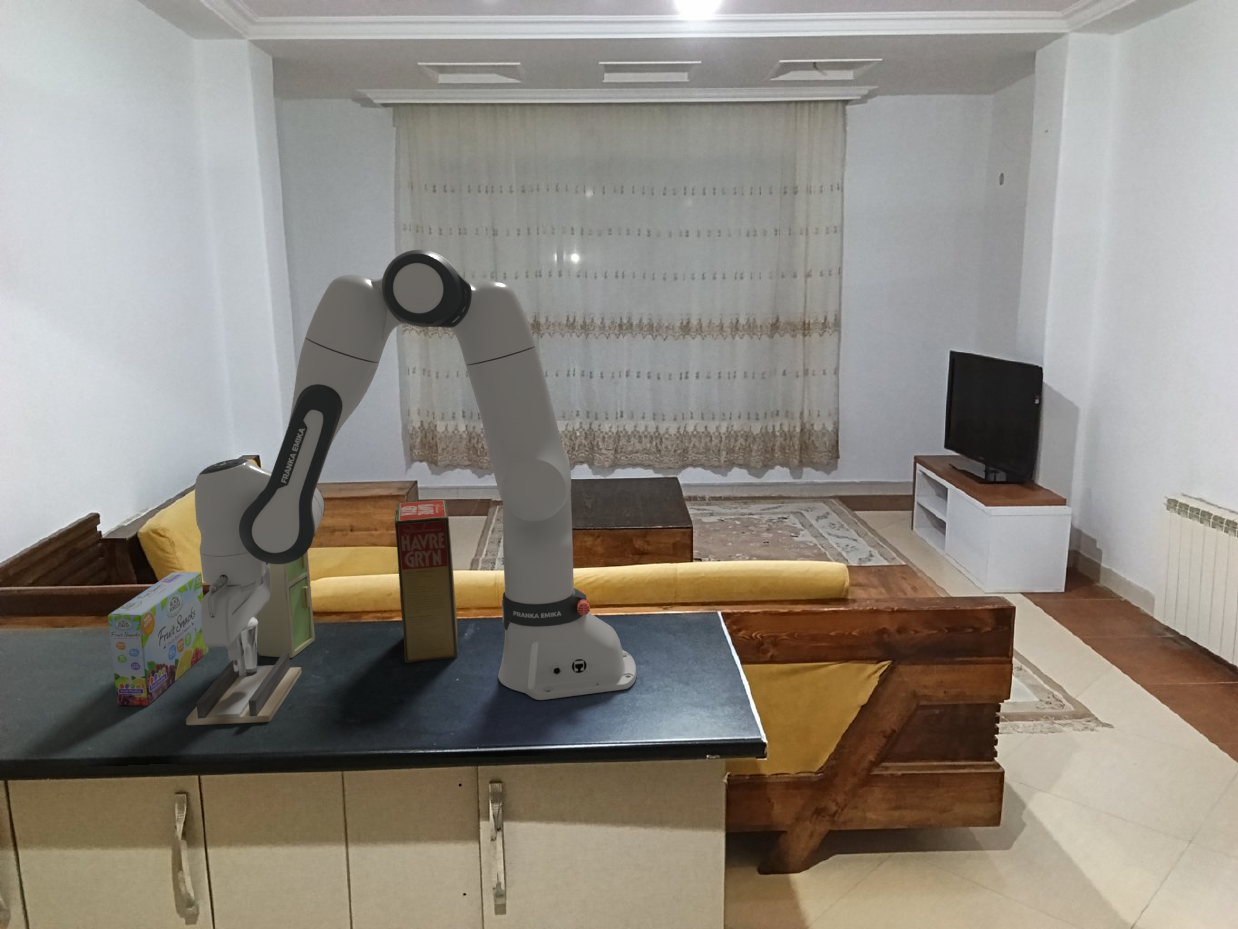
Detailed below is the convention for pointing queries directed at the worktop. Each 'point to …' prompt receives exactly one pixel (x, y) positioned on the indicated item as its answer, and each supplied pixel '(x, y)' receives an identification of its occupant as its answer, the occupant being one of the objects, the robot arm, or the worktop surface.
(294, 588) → the toy refrigerator
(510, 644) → the robot arm
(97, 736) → the worktop surface
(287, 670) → the rail plate
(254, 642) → the milkshake
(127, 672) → the snack box
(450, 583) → the food packaging
